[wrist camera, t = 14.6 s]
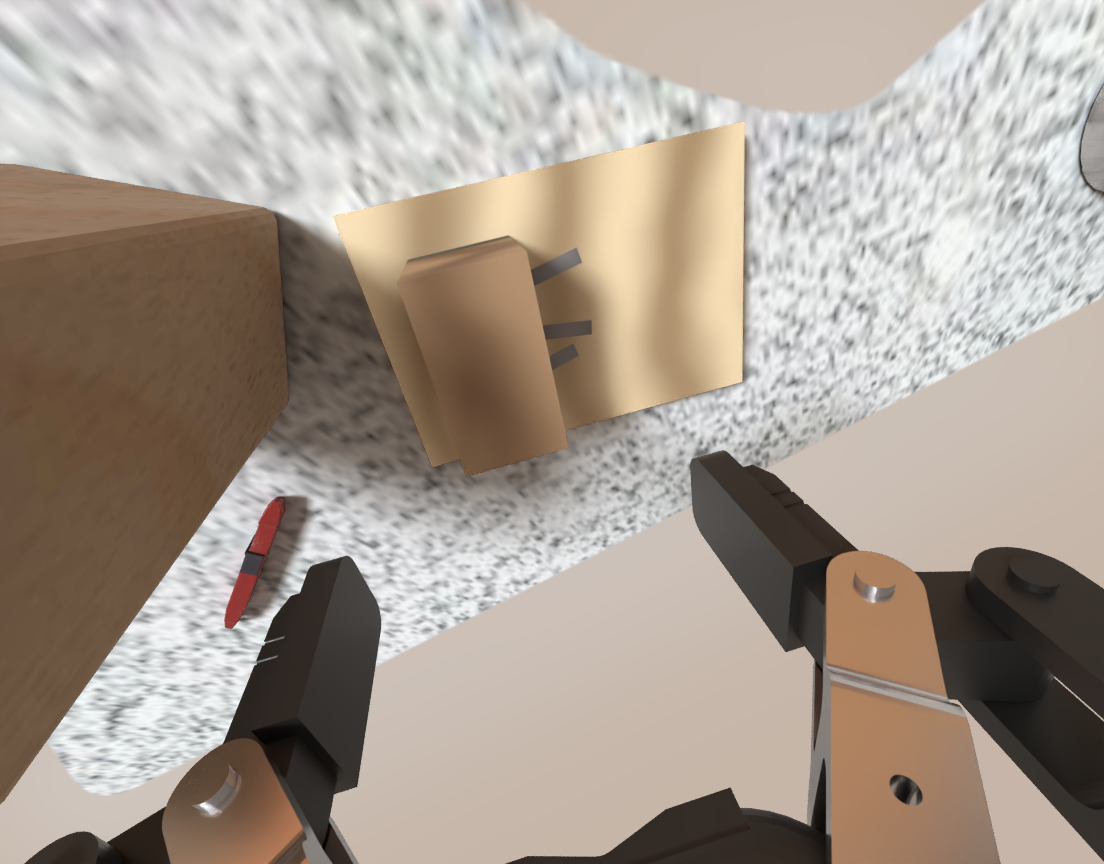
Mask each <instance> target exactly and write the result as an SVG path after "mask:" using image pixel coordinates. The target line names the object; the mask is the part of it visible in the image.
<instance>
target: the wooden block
mask: <svg viewBox="0 0 1104 864" xmlns="http://www.w3.org/2000/svg"><path fill="white" fill-rule="evenodd" d="M288 400H289V390H288V375H287V360H286V346H285V331H284V316H283V302H282V287H281V272H280V257H279V243H278V228H277V220H276V218H275V216H274V213H273V212H271V211H269V210H268V209H266V208H264V207H258V206H253V205H247V204H241V203H235V202H229V201H224V200H218V199H212V198H206V197H201V196H195V195H189V194H183V193H178V192H172V191H166V190H160V189H155V188H149V187H143V186H137V185H131V184H126V183H120V182H114V181H108V180H103V179H97V178H91V177H85V176H80V175H74V174H68V173H62V172H57V171H51V170H45V169H39V168H34V167H28V166H22V165H16V164H0V804H1V803H2V802H3V801H4V800H5V799H6V797H7V796H8V795H9V793H10V792H11V790H12V789H13V787H14V786H15V785H16V783H17V782H18V781H19V779H20V778H21V776H22V775H23V774H24V772H25V771H26V769H27V768H28V766H29V765H30V764H31V762H32V761H33V760H34V758H35V756H36V755H37V754H38V753H39V751H40V750H41V748H42V747H43V746H44V744H45V743H46V741H47V740H48V739H49V737H50V736H51V734H52V733H53V731H54V730H55V729H56V727H57V726H58V724H59V723H60V722H61V720H62V719H63V717H64V716H65V715H66V713H67V712H68V710H69V709H70V708H71V706H72V705H73V703H74V702H75V701H76V699H77V698H78V696H79V695H80V694H81V692H82V691H83V689H84V688H85V687H86V685H87V684H88V682H89V681H90V680H91V678H92V677H93V675H94V674H95V673H96V671H97V670H98V668H99V667H100V666H101V664H102V663H103V661H104V660H105V659H106V657H107V656H108V654H109V653H110V652H111V650H112V649H113V647H114V646H115V645H116V643H117V642H118V640H119V639H120V638H121V636H122V635H123V633H124V632H125V631H126V629H127V628H128V626H129V625H130V624H131V622H132V621H133V619H134V618H135V616H136V615H137V614H138V612H139V611H140V609H141V608H142V607H143V605H144V604H145V602H146V601H147V600H148V598H149V597H150V595H151V594H152V593H153V591H154V590H155V588H156V587H157V586H158V584H159V583H160V581H161V580H162V579H163V577H164V576H165V574H166V573H167V572H168V570H169V569H170V567H171V566H172V565H173V563H174V562H175V560H176V559H177V558H178V556H179V555H180V553H181V552H182V551H183V549H184V548H185V546H186V545H187V544H188V542H189V541H190V539H191V538H192V537H193V535H194V534H195V532H196V531H197V530H198V528H199V527H200V525H201V524H202V523H203V521H204V520H205V518H206V517H207V516H208V514H209V513H210V511H211V510H212V508H213V507H214V506H215V504H216V503H217V501H218V500H219V499H220V497H221V496H222V494H223V493H224V492H225V490H226V489H227V487H228V486H229V485H230V483H231V482H232V480H233V479H234V478H235V476H236V475H237V473H238V472H239V471H240V469H241V468H242V466H243V465H244V464H245V462H246V461H247V459H248V458H249V457H250V455H251V454H252V452H253V451H254V450H255V448H256V447H257V445H258V444H259V443H260V441H261V440H262V438H263V437H264V436H265V434H266V433H267V431H268V430H269V429H270V427H271V426H272V424H273V423H274V422H275V420H276V419H277V417H278V416H279V415H280V413H281V412H282V410H283V409H284V408H285V406H286V405H287V403H288Z"/></svg>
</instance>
